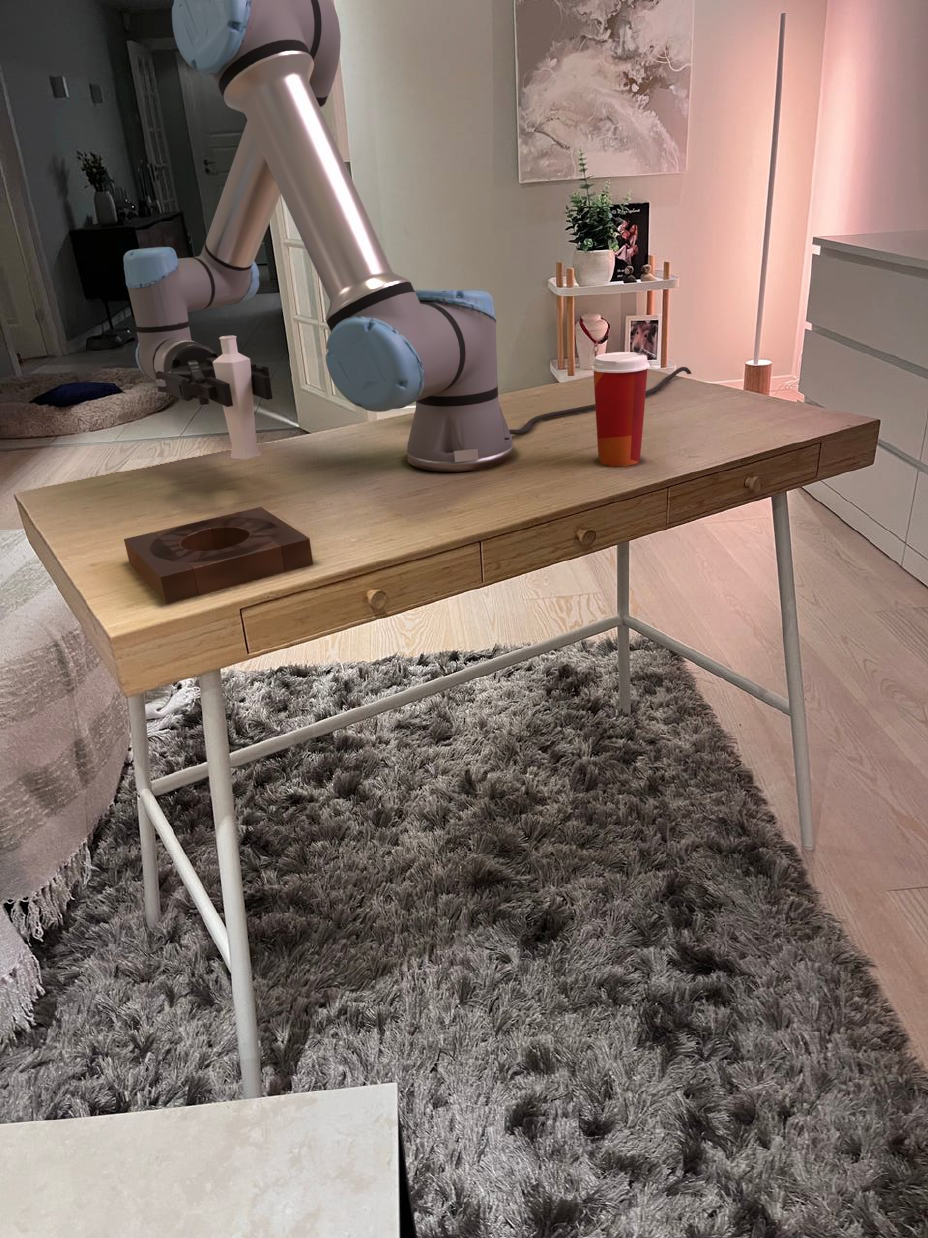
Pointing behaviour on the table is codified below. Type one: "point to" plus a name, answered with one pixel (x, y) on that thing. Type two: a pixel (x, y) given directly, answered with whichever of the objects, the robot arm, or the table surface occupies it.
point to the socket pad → (217, 553)
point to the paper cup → (620, 406)
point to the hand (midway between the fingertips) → (248, 391)
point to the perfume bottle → (238, 398)
